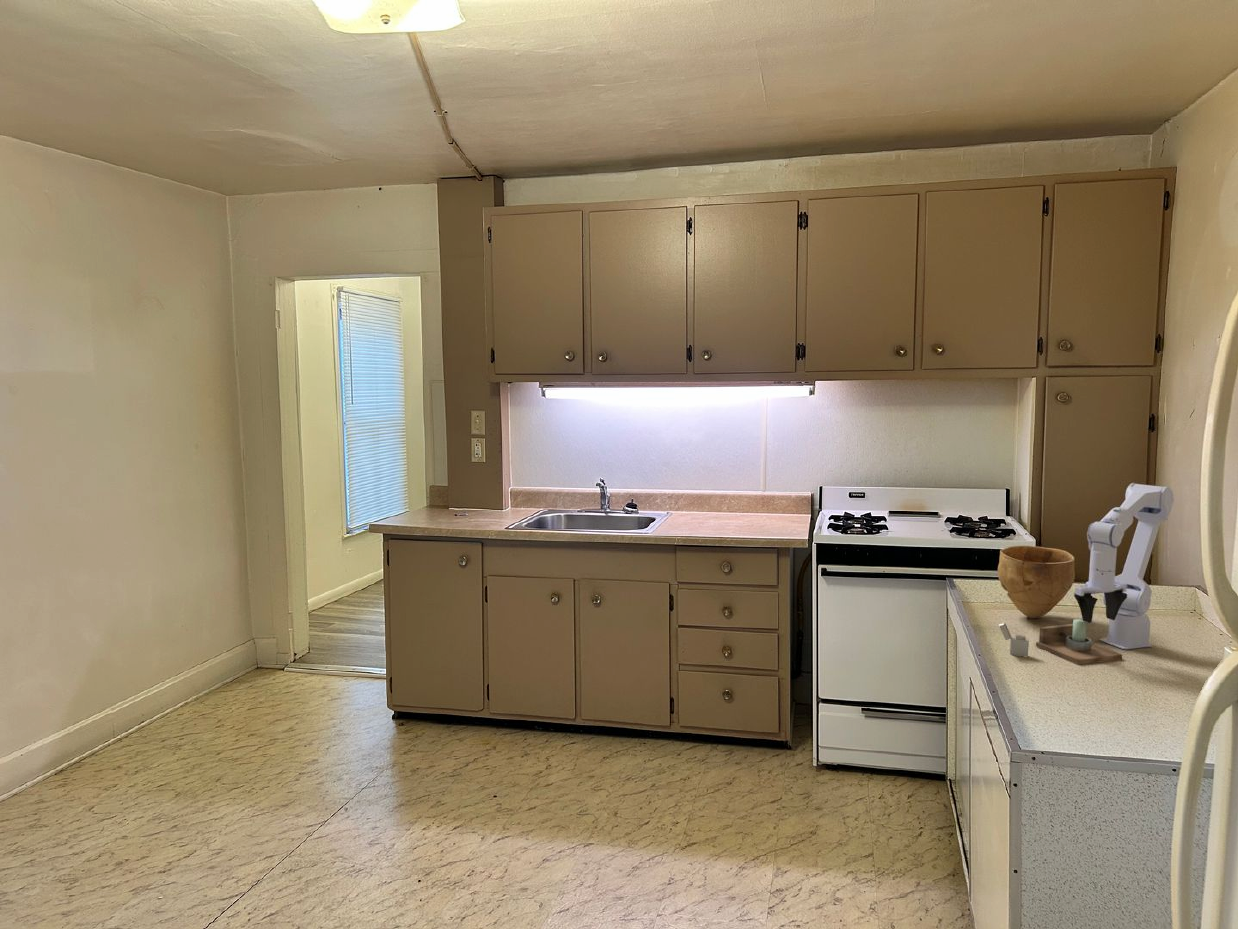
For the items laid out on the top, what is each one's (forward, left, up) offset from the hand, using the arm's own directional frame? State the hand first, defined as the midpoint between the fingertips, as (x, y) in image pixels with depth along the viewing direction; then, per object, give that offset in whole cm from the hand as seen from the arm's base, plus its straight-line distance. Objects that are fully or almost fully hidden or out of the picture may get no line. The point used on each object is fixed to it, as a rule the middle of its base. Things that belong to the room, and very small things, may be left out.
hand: (1098, 620), depth 214 cm
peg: (+3, -3, -8) cm, 9 cm away
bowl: (-8, -31, -10) cm, 33 cm away
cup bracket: (+3, -3, -9) cm, 10 cm away
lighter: (+20, -7, -10) cm, 23 cm away
